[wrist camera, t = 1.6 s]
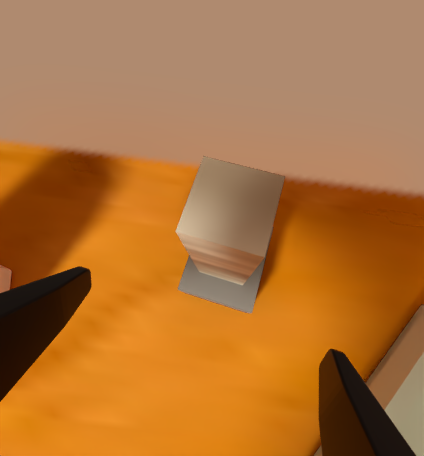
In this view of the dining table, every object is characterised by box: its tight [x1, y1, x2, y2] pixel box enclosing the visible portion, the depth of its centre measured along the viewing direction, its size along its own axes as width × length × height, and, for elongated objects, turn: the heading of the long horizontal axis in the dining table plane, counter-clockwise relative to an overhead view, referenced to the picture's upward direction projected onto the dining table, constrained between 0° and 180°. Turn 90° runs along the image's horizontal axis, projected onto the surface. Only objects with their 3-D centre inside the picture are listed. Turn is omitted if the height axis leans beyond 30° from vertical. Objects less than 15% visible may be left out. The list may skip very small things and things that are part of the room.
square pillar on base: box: [176, 156, 285, 313], centre depth 15 cm, size 6×5×12 cm
